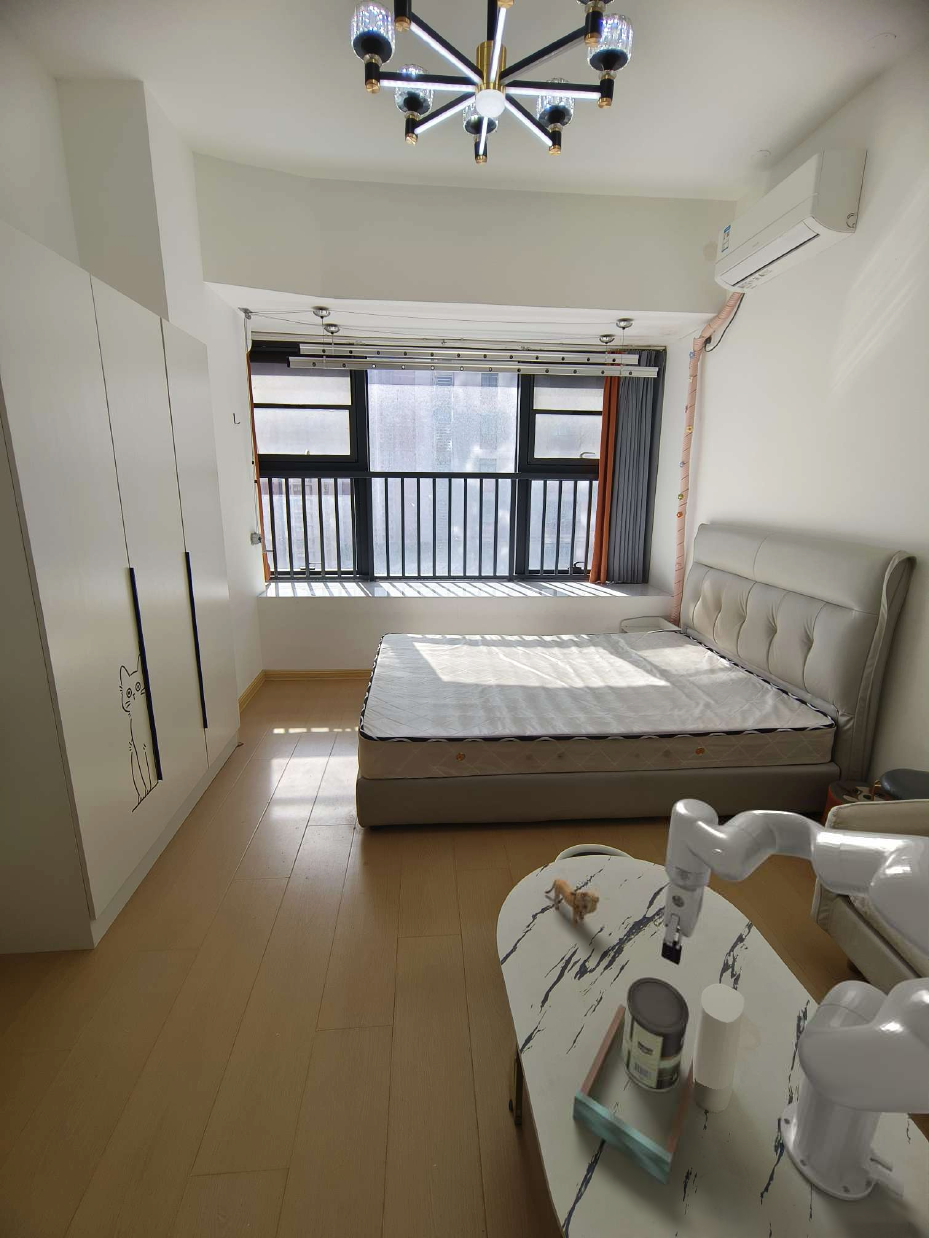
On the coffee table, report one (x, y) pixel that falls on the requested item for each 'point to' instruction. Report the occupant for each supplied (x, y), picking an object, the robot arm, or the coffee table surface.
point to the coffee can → (654, 1034)
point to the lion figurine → (574, 899)
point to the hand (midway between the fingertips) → (677, 942)
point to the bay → (620, 1131)
